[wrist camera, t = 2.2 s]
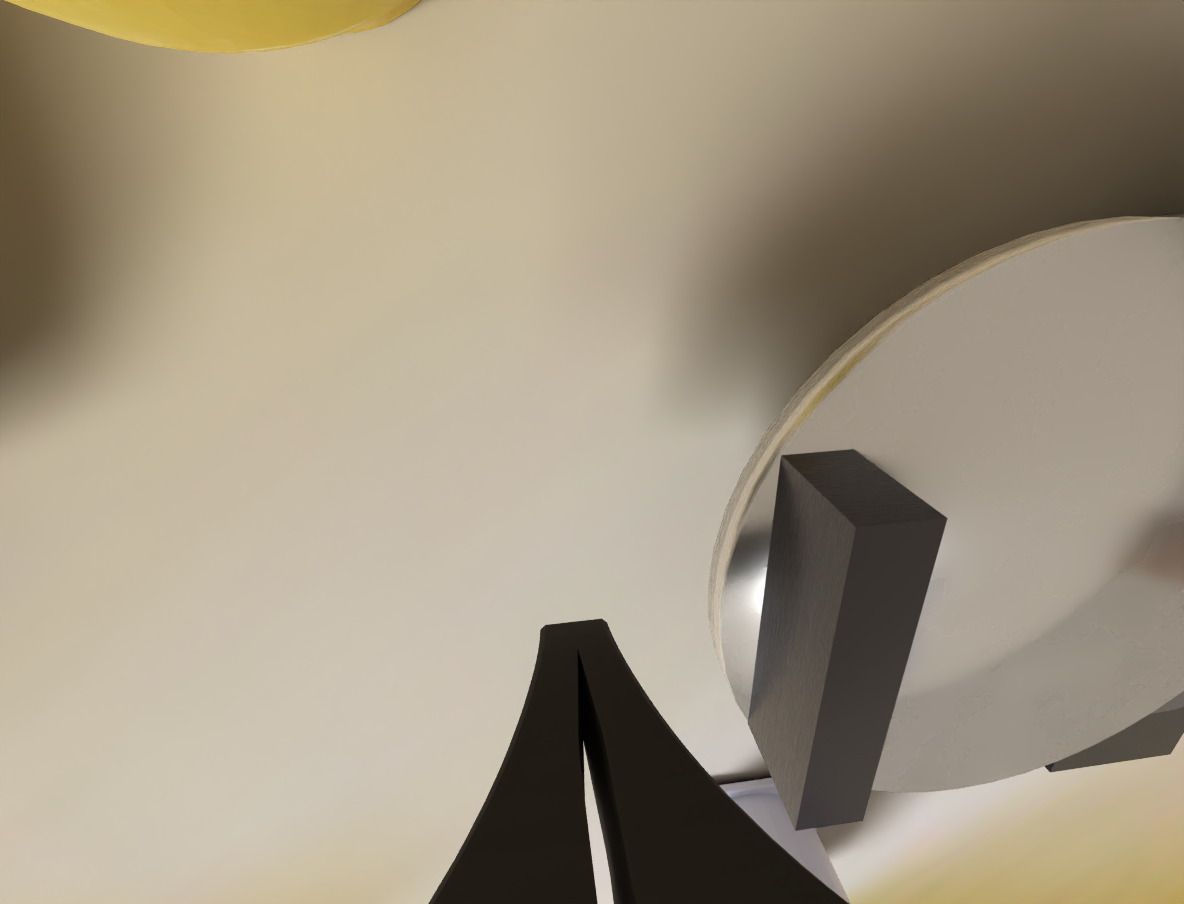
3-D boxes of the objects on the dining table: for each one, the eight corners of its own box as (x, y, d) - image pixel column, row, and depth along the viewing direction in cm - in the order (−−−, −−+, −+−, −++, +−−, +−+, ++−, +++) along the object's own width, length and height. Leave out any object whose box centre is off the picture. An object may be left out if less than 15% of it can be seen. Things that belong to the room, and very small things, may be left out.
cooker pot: (1164, 644, 26) (1303, 739, 21) (840, 686, 24) (914, 799, 19) (1455, 101, 16) (1809, 63, 12) (964, 112, 15) (1158, 72, 10)
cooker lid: (1159, 727, 19) (1301, 843, 16) (693, 794, 17) (737, 940, 14) (1464, 201, 12) (1843, 200, 9) (733, 232, 10) (839, 247, 7)
